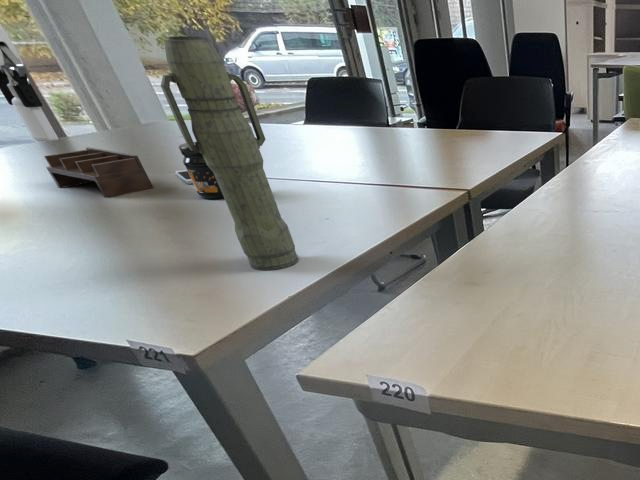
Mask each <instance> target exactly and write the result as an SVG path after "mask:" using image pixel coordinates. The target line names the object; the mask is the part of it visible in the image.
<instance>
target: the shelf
mask: <svg viewBox="0 0 640 480" xmlns="http://www.w3.org/2000/svg"><path fill="white" fill-rule="evenodd" d="M44 159H45V160H46V162H47V164H48V166H46V167H45V168H46V170H47V171H48V173H49V174H50V176H51V178H52V180H53V181H54V183H55V185H56V186H57V188H60V187H62V188H66V187H65V186H67V187H71V185H72V186H77V185H76V184H78V185H81V184H80V183H83V184H86V183H85V182H88V183H91V182H90V181H94V182H95V184H96V185H97V187H98V189H99V190H100V191H99V192H101V194H102V196H103V197H104V198H106V197H108V198H111V197H110V196H112V197H118V196H121V194H122V195H126V193H127V194H131V193H135V192H136V193H137V192H140V191H145V190H149V189H153V188H154V186H153V184H152V182H151V179H150V177H149V175H148V174H147V172H146V170H145V168H144V166H143V164H142V162H141V160H140V158H139V156H138V155H136V154H130V153H124V152H118V151H113V150H106V149H101V148H95V147H90V146H89V147H88V146H87V147H85V149H83V150H81V149H80V150H75V151H69V152H62V153H55V154H48V155H44Z"/></svg>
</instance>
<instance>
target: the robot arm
mask: <svg viewBox="0 0 640 480" xmlns="http://www.w3.org/2000/svg"><path fill="white" fill-rule="evenodd" d="M8 77H9V79H10V80H11V82H12V83H13V84H14V85H12V87H13V88H14V90H15V92H16V93H17V95H18V97H19V98H20V100H21V102H22V103H23V105H24V106H25V107H28V108H29V107H41V108H42V107H43V103H42V101H41V99H40V98H39V96H38V94H37V92H36V90H35V89H34V87H33V85H32V83H31V81H30V79H29V78H28V74H27V73H26V68H25V65H24V62H23V60H22V58H21V55H20V53H19V52H18V50H17V48H16V47H15V45H14V44H13V42H12V40H11V38H10V36H9V35H8V33H7V32H6V29H5V28H4V27H3V25H2V24H1V23H0V92H1V93H2V95H3V96H4V99H5V100H6V101H7V103H8V104H9V105H11V106H13V104H12V99H13V98H14V96H13V94H12V93H11V91H10V89H9V88H8V86H7V85H8V84H9V80H8Z"/></svg>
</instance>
